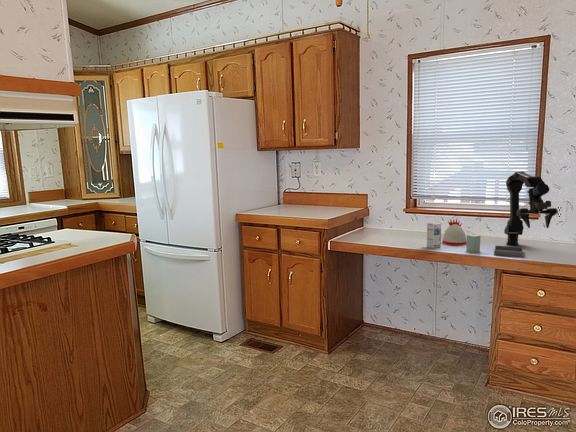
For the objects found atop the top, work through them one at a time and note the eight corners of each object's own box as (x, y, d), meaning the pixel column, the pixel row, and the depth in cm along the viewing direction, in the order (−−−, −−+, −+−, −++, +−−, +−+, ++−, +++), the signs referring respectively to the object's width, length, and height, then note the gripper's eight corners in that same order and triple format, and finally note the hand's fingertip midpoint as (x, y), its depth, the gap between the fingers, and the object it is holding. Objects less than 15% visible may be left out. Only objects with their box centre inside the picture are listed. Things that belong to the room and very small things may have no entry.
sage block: (466, 250, 254) (467, 235, 253) (472, 249, 257) (473, 234, 255) (473, 252, 250) (474, 236, 249) (479, 251, 252) (480, 235, 251)
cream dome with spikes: (442, 240, 284) (443, 216, 282) (466, 241, 280) (467, 217, 277) (442, 244, 271) (443, 220, 269) (466, 246, 267) (467, 221, 264)
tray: (494, 249, 255) (495, 245, 255) (522, 251, 249) (522, 247, 249) (494, 255, 243) (494, 250, 243) (523, 257, 237) (523, 252, 237)
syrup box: (433, 248, 262) (433, 223, 260) (426, 246, 267) (426, 222, 265) (440, 247, 264) (441, 223, 262) (433, 245, 269) (434, 221, 267)
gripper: (523, 195, 231) (526, 224, 228) (561, 195, 229) (564, 224, 226) (514, 200, 242) (517, 229, 239) (551, 200, 240) (554, 229, 237)
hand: (538, 227), depth 235 cm, fingers open, 9 cm apart
